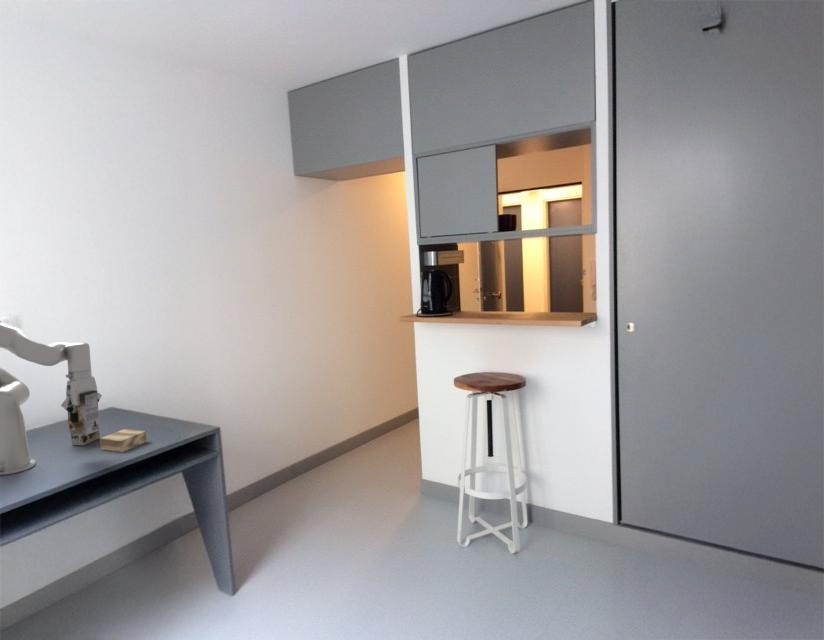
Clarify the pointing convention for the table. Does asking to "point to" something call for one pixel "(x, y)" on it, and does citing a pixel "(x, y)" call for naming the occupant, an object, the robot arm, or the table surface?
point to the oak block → (123, 440)
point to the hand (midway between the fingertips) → (83, 419)
